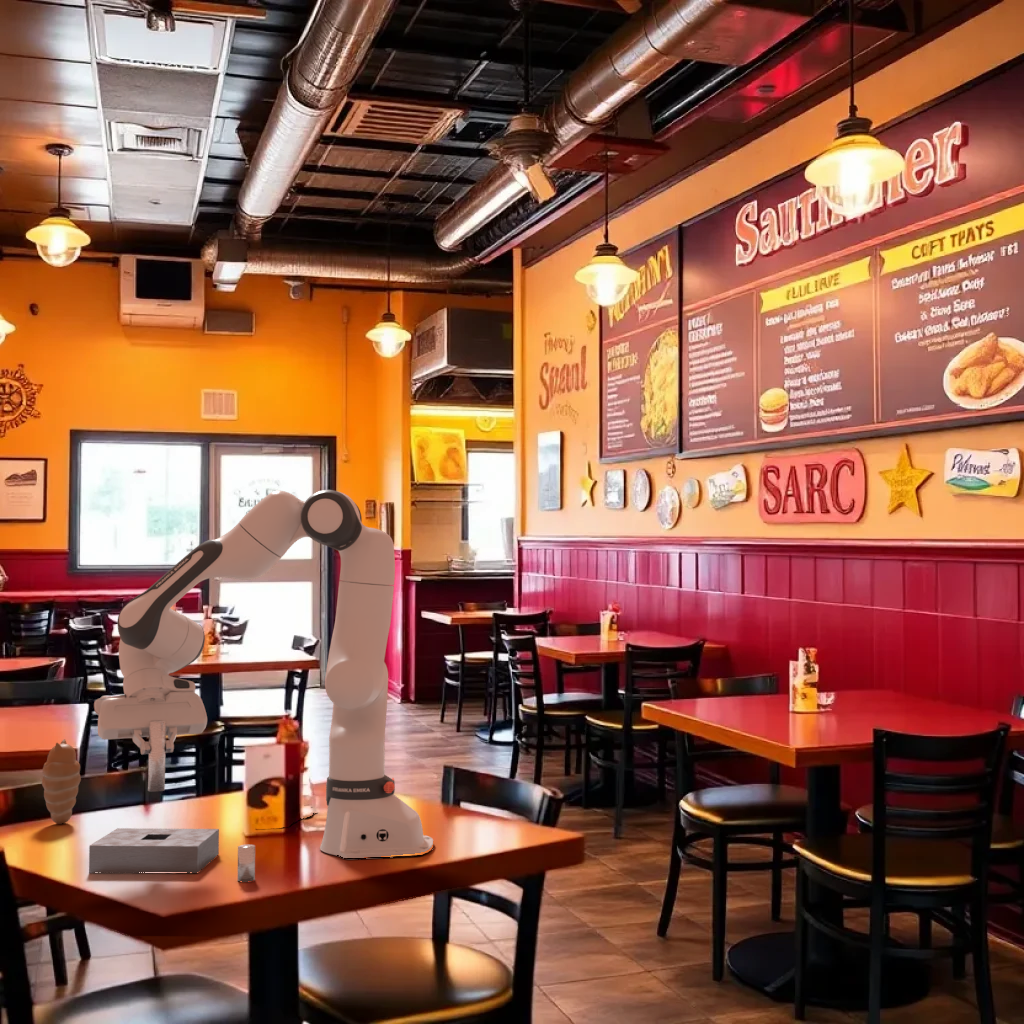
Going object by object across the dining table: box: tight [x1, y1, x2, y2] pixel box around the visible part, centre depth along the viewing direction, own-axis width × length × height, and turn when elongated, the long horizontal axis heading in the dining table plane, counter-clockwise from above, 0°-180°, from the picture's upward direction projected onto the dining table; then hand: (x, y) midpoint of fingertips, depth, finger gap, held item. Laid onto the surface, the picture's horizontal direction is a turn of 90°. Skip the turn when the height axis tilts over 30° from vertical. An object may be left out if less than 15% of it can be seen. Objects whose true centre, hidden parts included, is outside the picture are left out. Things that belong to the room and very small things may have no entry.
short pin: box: [237, 844, 256, 883], centre depth 208 cm, size 3×3×6 cm
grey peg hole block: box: [88, 827, 220, 874], centre depth 219 cm, size 20×14×5 cm
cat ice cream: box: [41, 739, 82, 825], centre depth 253 cm, size 9×8×18 cm
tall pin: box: [147, 720, 167, 793], centre depth 220 cm, size 3×3×13 cm
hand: (157, 751), depth 220 cm, fingers closed on tall pin, 3 cm apart
